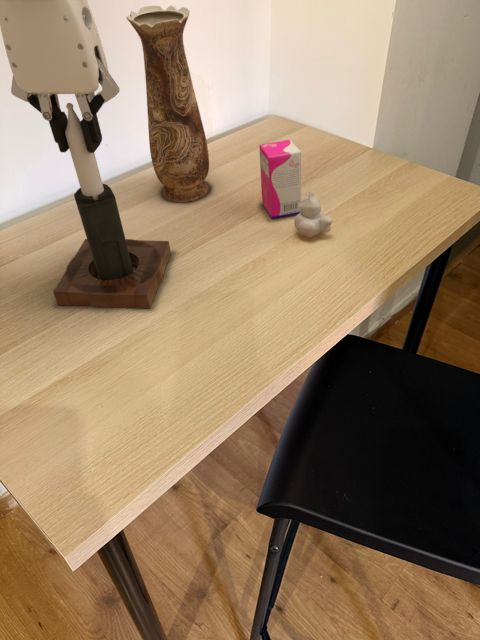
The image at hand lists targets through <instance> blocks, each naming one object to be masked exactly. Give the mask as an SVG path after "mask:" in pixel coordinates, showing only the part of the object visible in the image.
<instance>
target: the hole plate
mask: <svg viewBox="0 0 480 640" xmlns="http://www.w3.org/2000/svg"><path fill="white" fill-rule="evenodd" d="M125 240H126V244H127V248H128V252H129V256H130V260H131V264H132V266H134V267H136V269H135V270H133V272H132V273H131V274H129V275H128V276H125V277H123V278H120V279H115V280H101V279H100V278H97V277H96V276H97V275H98V273H97V270H96V267H95V263H94V260H93V257H92V253H91V250H90V247H89V243H88V240H87V238H85V239H84V240H83V242H82V243H81V245H80V246H79V248H78V250H77V251H76V253H75V255H74V256H73V258H72V259H71V260H70V261H69V262H68V264H67V266H66V268H65V271H64V273H63V275H62V276H61V278H60V280H59V281H58V283H57V284H56V286H55V288H54V289H53V291H52V293H53V295H54V299H55V300H56V304H57V305H58V306H79V307H93V308H102V309H109V308H110V309H111V308H127V309H128V308H131V309H132V308H133V309H151V307H152V305H153V302H154V299H155V297H156V294H157V292H158V291H157V290H158V289H159V286H160V285H161V284H162V282H163V281H164V280H163V279H164V276H165V271H166V268H167V265H168V263H169V260H170V258H171V255H172V252H171V245H170V240H145V239H144V240H143V239H142V240H139V239H131V238H125Z"/></svg>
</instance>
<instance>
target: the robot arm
mask: <svg viewBox="0 0 480 640" xmlns="http://www.w3.org/2000/svg"><path fill="white" fill-rule="evenodd" d="M0 32H1V36H2V41H3V45H4V49H5V52H6V57H7V60H8V63H9V66H10V70H11V73H12V80H11V88H10V93H11V95H12V96H14V97H16V98H18V99H20V100H21V101H24V102H26V103H28V104H30V106H31V107H33V108H34V109H35V110H36V111H38V112H39V113H40V114H41V116H42V118H43V120H45V121H48V124H49V127H50V131H51V133H52V137H53V140H54V142H55V143H56V144H57V146H58V151H59V152H60V153H67V152H68V150H70V149H69V146H68V143H67V139H66V136H65V130H66V127H67V124H68V114H66V112H65V111H62V109H61V106H60V101H59V96H58V95H74V96H75V99H76V102H77V105H78V108H79V111H80V114H81V117H82V119H81V120H80V121H81V122H80V125H81V129H82V133H83V136H84V140H85V144H86V147H87V151H88V152H89V153H95V152H96V151H97V150H98V149H99V147H100V146H101V143H102V141H103V135H102V131H101V127H100V122H99V117H98V115H97V114H98V113H99V111H100V110H101V108H102V107H103V105H104V104H106V103H107V102H109V101H110V100H112V99H113V98H116V96H117V95H118V94H119V93H120V90H121V89H120V87H119V85H118V84H117V82H116V81H115V79H114V78H113V77H112V75H111V73H110V72H109V68H108V63H107V59H106V55H105V51H104V48H103V43H102V40H101V38H100V34H99V30H98V27H97V25H96V20H95V18H94V16H93V13H92V10H91V8H90V4H89V2H88V0H0ZM99 86H101V90H99ZM98 90H99V91H98ZM96 91H98V92H97V93H96V94H95V92H96Z"/></svg>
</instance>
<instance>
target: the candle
mask: <svg viewBox="0 0 480 640" xmlns="http://www.w3.org/2000/svg"><path fill="white" fill-rule="evenodd" d="M65 107H66V109H67V119H68V124H67V127H66V130H65V136H66V139H67V143H68V146H69V149H68V150H69V152H70V157H71V160H72V163H73V167H74V170H75V173H76V177H77V180H78V184H79V188H78V189H77V190H76V192H74V194H73V197H74V201H75V204H76V207H77V211H78V213H79V217H80V220H81V223H82V227H83V230H84V234H85V236H86V239H87V240H88V243H89V247H90V250H91V253H92V257H93V260H94V263H95V267H96V270H97V275H98V279H101V280H115V279H120V278H123V277H125V276H128V275H129V274H131V273H132V272H134V269H133V268H134V267H133V265H132V264H131V260H130V256H129V252H128V248H127V244H126V240H125V239H126V236H125V231H124V228H123V227H124V226H123V223H122V219H121V215H120V212H119V211H120V210H119V207H118V203H117V200H116V195H115V194H114V191H113V190H112V188H111V187H110V186H109V185H108V184H106V183H103V181H102V177H101V173H100V169H99V165H98V161H97V157H96V153H95V152H94V153H89V152H88V151H87V147H86V144H85V140H84V136H83V133H82V129H81V125H80V122H81V120H80V117H79V116H78V114H77V112H76V111H75V109H74V104H73V103H71V102H67V103H66V105H65Z"/></svg>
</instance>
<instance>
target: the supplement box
mask: <svg viewBox="0 0 480 640" xmlns="http://www.w3.org/2000/svg"><path fill="white" fill-rule="evenodd" d="M258 146H259V164H260V165H259V166H260V181H261V182H260V184H261V187H260V188H261V204H262V207H263V208H264V210H265V212H266V213H267V215H268V216H269V218H270V220H272V221H273V220H277V219H282V218H287V217H293V216H297V215H298V214H299V213H300V212H301V211H300V209H301V208H300V207H299V205H300V204H301V203H302V151H301V150H300V148H298V147H297V146H296V145H295V143H294V142H293V141H292V140H291V139H284V140H281V141H274V142H268V143H262V144H259V145H258Z"/></svg>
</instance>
